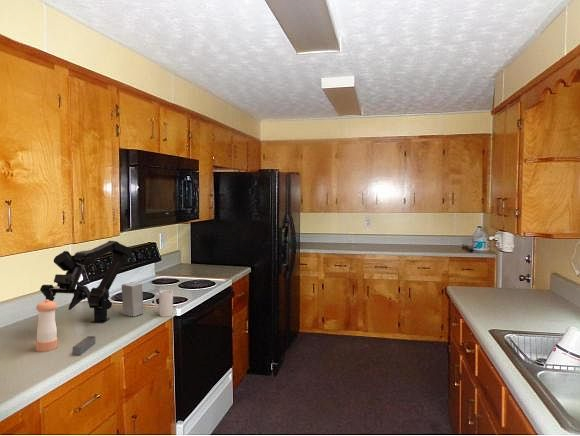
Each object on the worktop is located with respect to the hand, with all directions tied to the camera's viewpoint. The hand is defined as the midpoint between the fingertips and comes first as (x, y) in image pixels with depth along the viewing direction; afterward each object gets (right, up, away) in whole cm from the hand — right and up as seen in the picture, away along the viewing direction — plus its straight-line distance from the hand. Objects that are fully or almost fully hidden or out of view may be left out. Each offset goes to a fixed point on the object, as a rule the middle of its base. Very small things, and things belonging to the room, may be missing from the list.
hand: (57, 309), depth 165 cm
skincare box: (+15, -12, +39) cm, 44 cm away
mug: (+30, -12, +41) cm, 52 cm away
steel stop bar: (+14, -14, -7) cm, 21 cm away
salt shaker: (0, -14, -7) cm, 15 cm away
